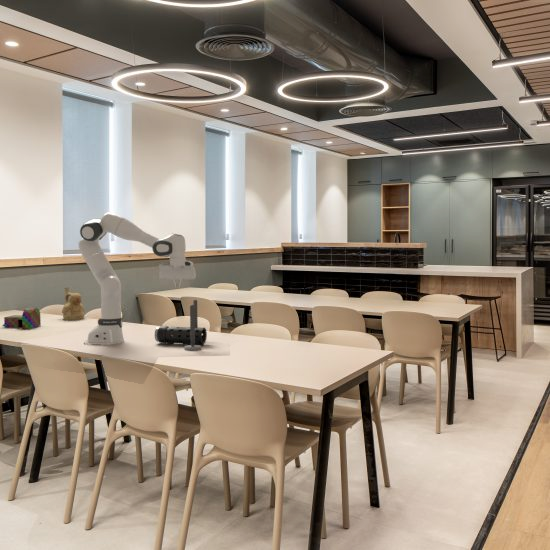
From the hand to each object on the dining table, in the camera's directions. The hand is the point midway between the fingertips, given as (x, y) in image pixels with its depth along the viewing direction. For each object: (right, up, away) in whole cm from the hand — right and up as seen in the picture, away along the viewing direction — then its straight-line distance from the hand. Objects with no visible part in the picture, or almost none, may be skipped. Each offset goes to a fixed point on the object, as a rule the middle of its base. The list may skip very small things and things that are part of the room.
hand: (177, 287), depth 320 cm
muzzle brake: (+2, -33, 0) cm, 33 cm away
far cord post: (+8, -32, +15) cm, 36 cm away
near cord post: (+11, -33, -15) cm, 38 cm away
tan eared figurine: (-96, -28, +104) cm, 144 cm away
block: (-120, -30, +71) cm, 142 cm away
